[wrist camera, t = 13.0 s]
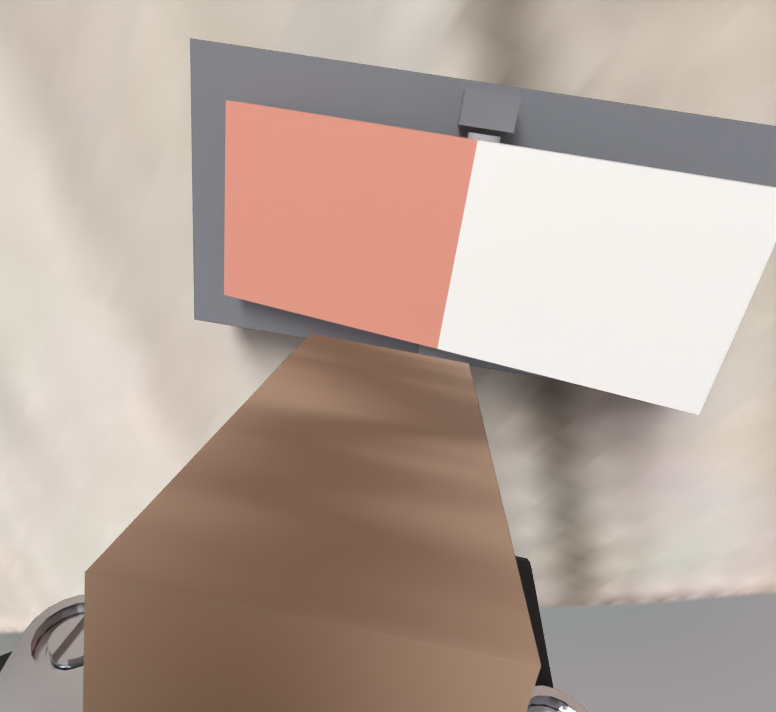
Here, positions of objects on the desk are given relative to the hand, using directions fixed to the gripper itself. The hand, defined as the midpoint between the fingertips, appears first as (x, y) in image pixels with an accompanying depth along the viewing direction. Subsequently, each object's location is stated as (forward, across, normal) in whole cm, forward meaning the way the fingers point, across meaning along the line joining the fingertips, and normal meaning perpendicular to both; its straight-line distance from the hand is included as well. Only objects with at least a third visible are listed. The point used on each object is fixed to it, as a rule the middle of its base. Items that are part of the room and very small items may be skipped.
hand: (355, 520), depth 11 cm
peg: (+3, 0, 0) cm, 3 cm away
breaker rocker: (+13, -2, -3) cm, 14 cm away
